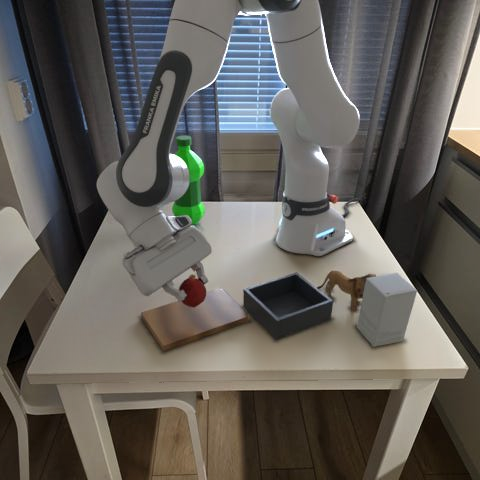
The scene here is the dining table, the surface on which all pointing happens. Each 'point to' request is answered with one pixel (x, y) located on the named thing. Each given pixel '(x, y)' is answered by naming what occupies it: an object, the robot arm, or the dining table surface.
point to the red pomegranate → (193, 291)
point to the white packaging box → (385, 309)
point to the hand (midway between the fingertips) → (194, 291)
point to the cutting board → (193, 319)
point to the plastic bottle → (192, 197)
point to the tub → (287, 305)
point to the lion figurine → (347, 285)
